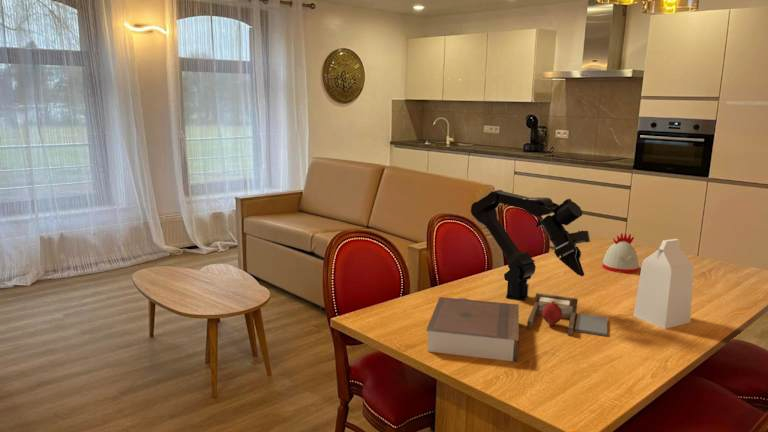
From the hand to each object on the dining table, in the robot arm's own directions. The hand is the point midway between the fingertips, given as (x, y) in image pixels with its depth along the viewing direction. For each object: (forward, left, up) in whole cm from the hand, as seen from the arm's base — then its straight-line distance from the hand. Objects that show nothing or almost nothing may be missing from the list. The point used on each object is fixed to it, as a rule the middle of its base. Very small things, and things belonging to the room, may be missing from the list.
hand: (581, 275), depth 182 cm
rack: (-7, -7, -14) cm, 17 cm away
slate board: (+4, -6, -14) cm, 16 cm away
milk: (+25, +9, -14) cm, 30 cm away
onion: (-7, -11, -14) cm, 19 cm away
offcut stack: (-7, -1, -14) cm, 16 cm away
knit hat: (+13, +65, -14) cm, 68 cm away
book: (-27, -29, -15) cm, 42 cm away
